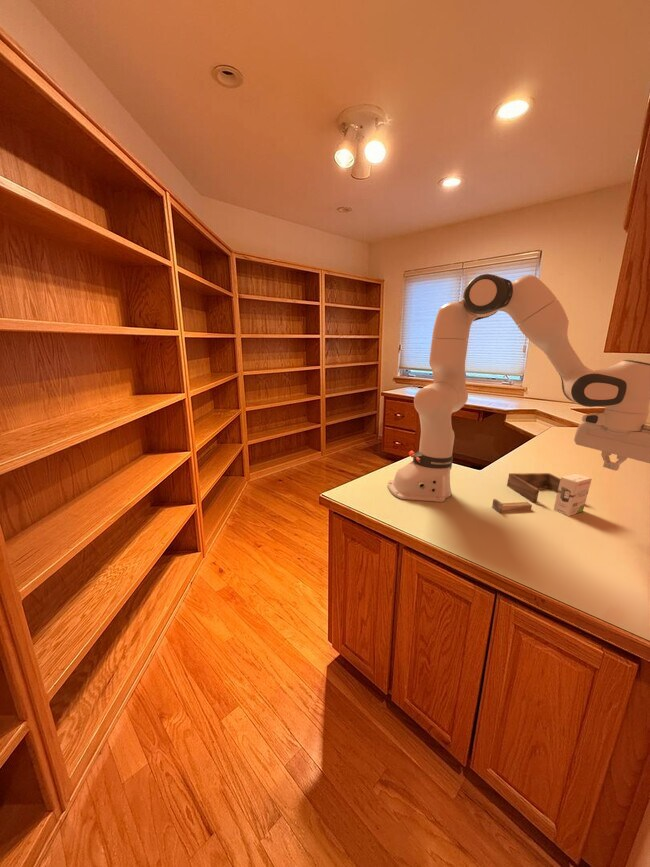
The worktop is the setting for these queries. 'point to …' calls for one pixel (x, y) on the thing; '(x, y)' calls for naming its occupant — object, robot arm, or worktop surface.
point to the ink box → (572, 494)
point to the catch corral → (532, 483)
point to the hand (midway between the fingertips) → (610, 468)
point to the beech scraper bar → (510, 506)
